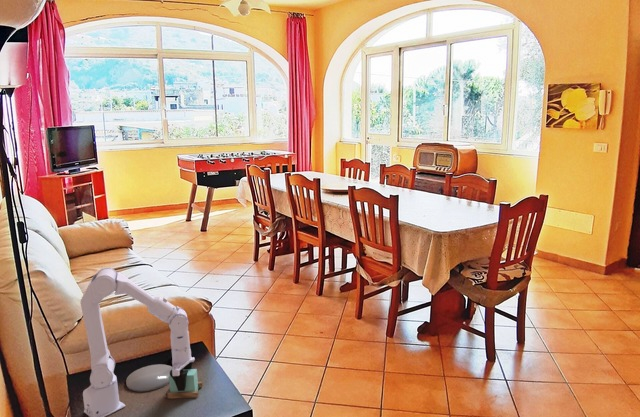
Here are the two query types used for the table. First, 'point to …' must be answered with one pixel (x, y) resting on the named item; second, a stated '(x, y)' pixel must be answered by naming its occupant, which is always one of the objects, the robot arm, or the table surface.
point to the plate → (149, 378)
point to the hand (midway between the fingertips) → (184, 385)
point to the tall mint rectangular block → (190, 382)
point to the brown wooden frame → (183, 393)
